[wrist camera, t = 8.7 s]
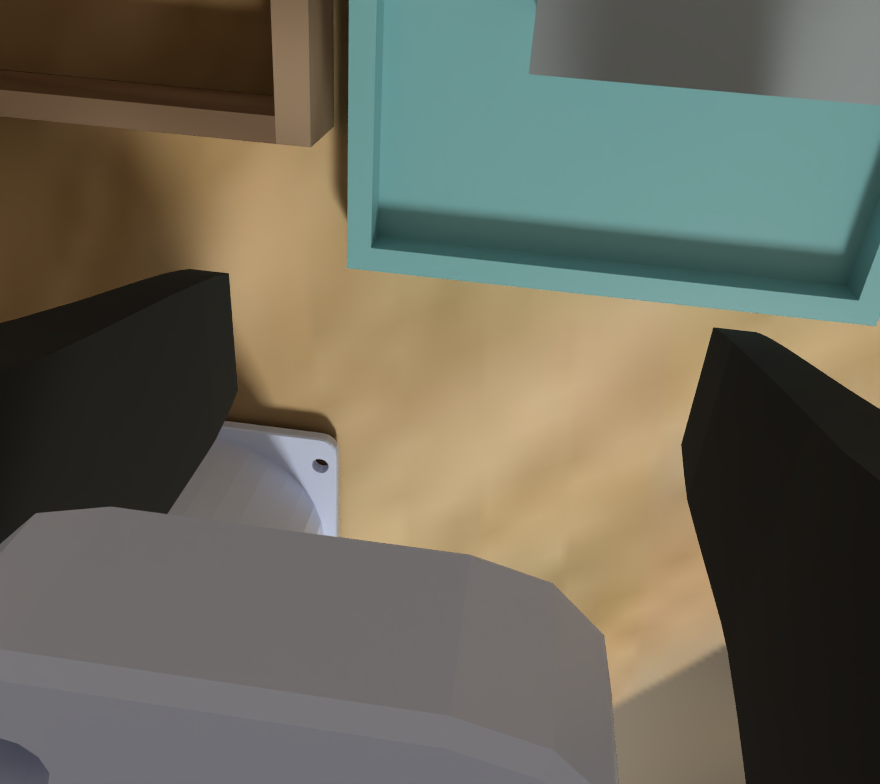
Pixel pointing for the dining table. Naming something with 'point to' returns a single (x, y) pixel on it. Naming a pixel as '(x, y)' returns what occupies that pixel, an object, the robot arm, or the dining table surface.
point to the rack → (203, 92)
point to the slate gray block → (716, 45)
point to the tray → (599, 174)
